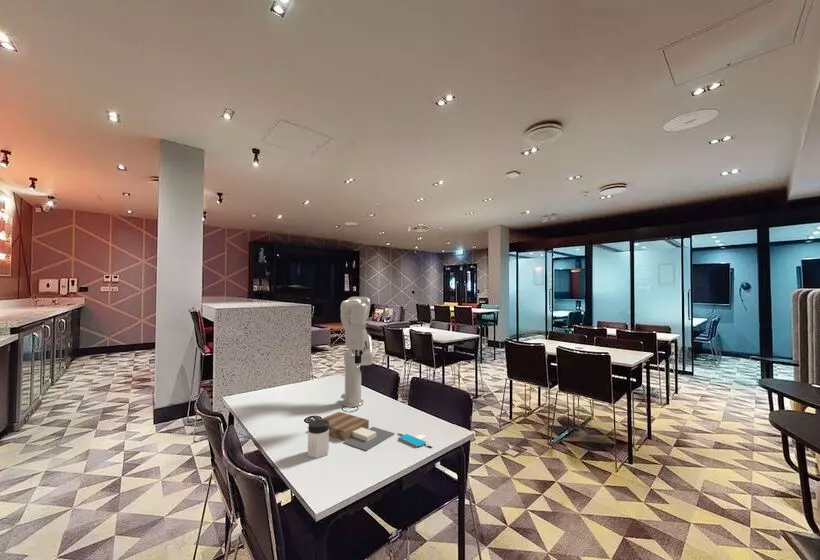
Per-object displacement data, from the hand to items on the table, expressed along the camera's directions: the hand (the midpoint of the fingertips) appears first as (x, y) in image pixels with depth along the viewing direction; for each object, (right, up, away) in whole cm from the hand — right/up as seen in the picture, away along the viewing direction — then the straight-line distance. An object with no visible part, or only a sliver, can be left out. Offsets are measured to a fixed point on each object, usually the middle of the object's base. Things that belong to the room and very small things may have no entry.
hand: (357, 363), depth 170 cm
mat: (+9, -28, -21) cm, 37 cm away
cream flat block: (+6, -28, -20) cm, 35 cm away
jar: (-11, -28, -35) cm, 46 cm away
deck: (-6, -29, -12) cm, 31 cm away
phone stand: (+29, -29, -22) cm, 47 cm away
